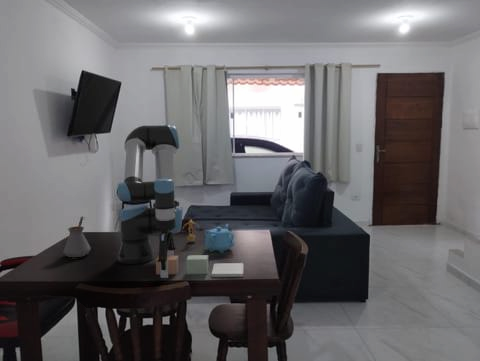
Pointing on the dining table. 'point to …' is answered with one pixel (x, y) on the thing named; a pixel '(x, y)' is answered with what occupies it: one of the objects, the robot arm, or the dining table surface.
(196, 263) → the sage brick
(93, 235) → the dining table surface
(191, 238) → the figurine
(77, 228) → the coffee pot
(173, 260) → the terracotta brick
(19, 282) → the dining table surface
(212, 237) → the teapot
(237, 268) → the base plate
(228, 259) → the dining table surface
